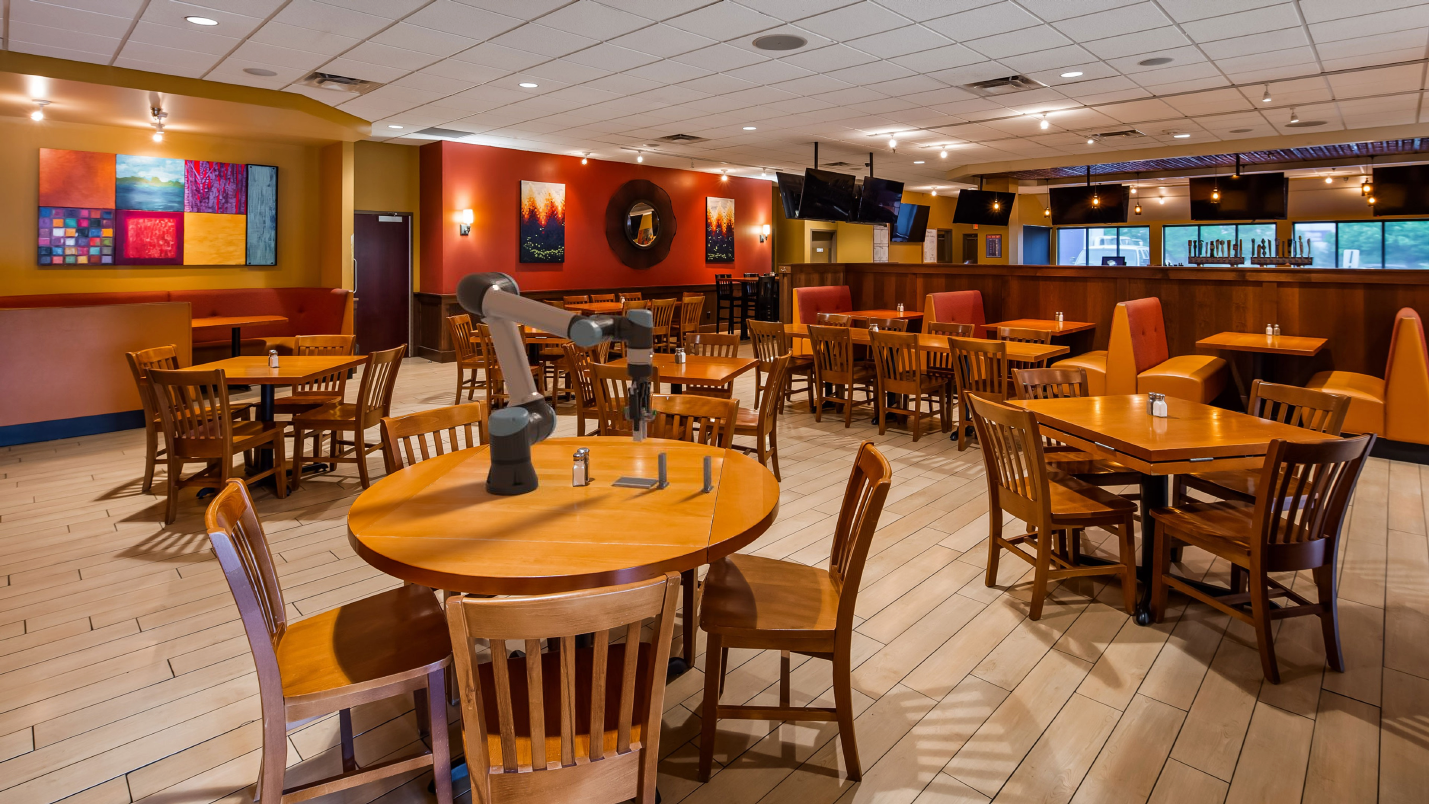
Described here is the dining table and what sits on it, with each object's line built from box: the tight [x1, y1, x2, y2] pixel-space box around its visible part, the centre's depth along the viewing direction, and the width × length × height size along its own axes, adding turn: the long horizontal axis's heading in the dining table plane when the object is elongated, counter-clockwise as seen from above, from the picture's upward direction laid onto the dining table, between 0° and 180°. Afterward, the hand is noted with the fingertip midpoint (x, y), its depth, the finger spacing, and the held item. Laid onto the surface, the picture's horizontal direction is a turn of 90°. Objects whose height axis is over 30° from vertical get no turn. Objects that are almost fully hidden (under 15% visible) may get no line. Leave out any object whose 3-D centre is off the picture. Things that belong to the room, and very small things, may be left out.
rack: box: [655, 452, 715, 493], centre depth 230 cm, size 16×5×10 cm, turn 74°
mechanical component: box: [622, 405, 658, 428], centre depth 232 cm, size 3×10×10 cm, turn 75°
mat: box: [612, 475, 659, 489], centre depth 236 cm, size 12×8×1 cm, turn 74°
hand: (639, 439), depth 233 cm, fingers closed on mechanical component, 3 cm apart
